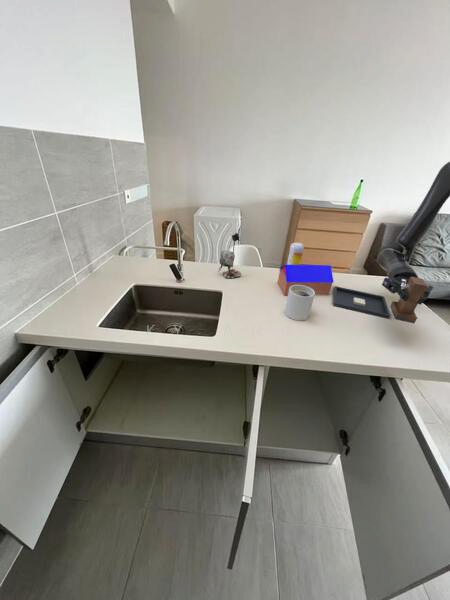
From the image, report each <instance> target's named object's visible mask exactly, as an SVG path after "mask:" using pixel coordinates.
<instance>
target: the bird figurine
mask: <svg viewBox="0 0 450 600" xmlns="http://www.w3.org/2000/svg"><path fill="white" fill-rule="evenodd" d="M231 239H232V241H233V248H232V251H231V250H227V249H224V250H221V253H220V258H219V264H220V267H219V268H218V270H217V273H219V272H220V271H221V270H222V268H223V267H226V268H227V270H226V271H223V272H222V276H223V277H224V278H226V279H233V278H235V277H241V276H242V273H241V272H240V271H239V270H236V269H235V268H233V267H234V262H235V258H236V256H235V245H236V242H237V241H239V242H241V240H240V235H239V233H238V232H235V233H233V234H232V235H231Z"/></svg>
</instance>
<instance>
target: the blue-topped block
mask: <svg viewBox="0 0 450 600" xmlns="http://www.w3.org/2000/svg"><path fill="white" fill-rule="evenodd" d="M334 281H335V280H334V276H333V270H332V265H331V264H330V265H329V264H325V265H324V264H300V265H287V264H284V265H282V266H281V267H280V268H279V273H278V279H277V285H278V287H279V289H280V291H281V292H282V294H283V296H287V297H288V293H289V288H290V287H291V286H293V285H303V286H307V287H309V288H311V289H313V290H314V292H315V295H316V296H317V295H318V296H326V295H327V296H329V294H330V292H331V288H332V285H333V283H334ZM315 295H314V296H315Z"/></svg>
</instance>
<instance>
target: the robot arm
mask: <svg viewBox="0 0 450 600" xmlns="http://www.w3.org/2000/svg"><path fill="white" fill-rule="evenodd" d="M449 198H450V161H447V162H446V163H445V164H444V165H442V167H441V168H440V169H439V170H438V173H437V174H436V176H435V178H434V180H433V182H432V183H431V186H430V188H428V191H427V193H426V195H425V196H424V198H423V200H422V201H421V203H420V205H419V206H418V208H416V209H417V210H416V211H415V212H414V214H413V216H411V218H410V220H409V221H408V222H407V224H406V225H405V226H404V227H403V229H402V231H401V232H400V233H399V234H398V236H397V237H396V240H395V242H396V243H397V244H398V245H399V246H401V247H402V249H403V250H402V252H400V251H398V250H396V249H393V248H390V247H389V248H388V247H387V248H384V249H382V250H381V251H380V252H379V253H378V255H377V265H379V266H380V268H382V269H383V270H384V271H385V272H386V275H387V277H384V279H383V281H382V283H381V286H382V287H384V288H385V289H386V290H387V291H389V292H390V293H391V294H393V295H394V294H397V295H398V296H399V299H400V298H401V299H403V301H407V300H408V298H409V293H408V291H407V290H405V289H406V285H407V283H408V281H409V279H410V277H416V278H419V276H418V275H417V273H416V271H415V270H414V268H413V267H412V266H411V265H410V262H411V259H412V256H413V254H414V252H415V250H416V248H417V247H418V245H419V243H420V242H421V241H422V240H423V238H424V237H425V236H426V234H427V233H428V232H429V230H430V229H431V227H432V225H433V224H434V222H435V220H436V218H437V217H438V214H439V212H440V210H441V209H442V208H443V206H444V205H445V203H446V201H447V200H448V199H449ZM433 289H434V286H432V285H427V288H426V290H425V291H424V293H423V295H422V297H421V299H420V301H419V302H418V304H417V305H422V304H424V303H425V301H426V300H428V297H429V296H430V294H431V293H432V291H433Z"/></svg>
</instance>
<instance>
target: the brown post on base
mask: <svg viewBox="0 0 450 600" xmlns="http://www.w3.org/2000/svg"><path fill="white" fill-rule="evenodd" d="M427 287H428V284H427V283H426V282H425V280H424V278H422V277H418V278H416V277H410V279H409V281H408V283H407V285H406V289H405V290H407V291H408V293H409V298H408V300H407V301H403V299H401V298H400V297H399V299H398V301H396V300H392V301H391V302H390V303H391V304H390V306H389V307H390V309H391V313H392V315H393V318H394V320H395V321H396V320H397V321H401V322H406V323H411V324H415V323H416V321H417V319H418V317H417V315H416V313H415V310H416V308H417V306H418V305H419V304H418V302H419V301H420V299H421V297H422V295H423V293H424V291H425V290H426V288H427Z"/></svg>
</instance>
